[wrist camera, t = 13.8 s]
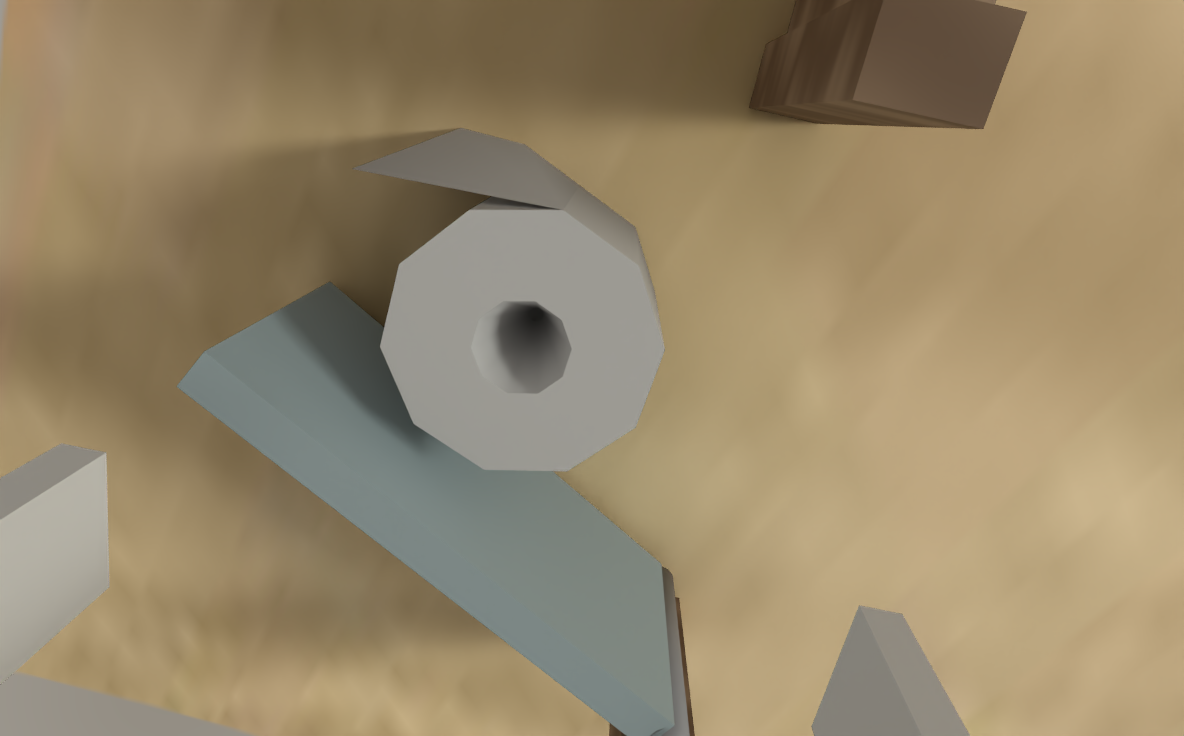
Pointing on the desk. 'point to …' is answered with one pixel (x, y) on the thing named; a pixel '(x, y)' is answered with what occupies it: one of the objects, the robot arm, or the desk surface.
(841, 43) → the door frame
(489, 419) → the toilet tissue
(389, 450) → the door
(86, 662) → the desk surface
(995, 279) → the desk surface
